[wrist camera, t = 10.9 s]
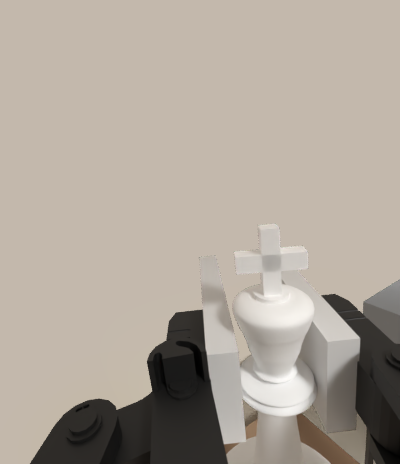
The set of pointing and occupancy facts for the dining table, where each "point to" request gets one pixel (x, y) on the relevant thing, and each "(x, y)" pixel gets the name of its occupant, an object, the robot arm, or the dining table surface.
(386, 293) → the slate block
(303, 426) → the walnut pad
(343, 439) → the dining table surface
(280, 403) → the chess piece
